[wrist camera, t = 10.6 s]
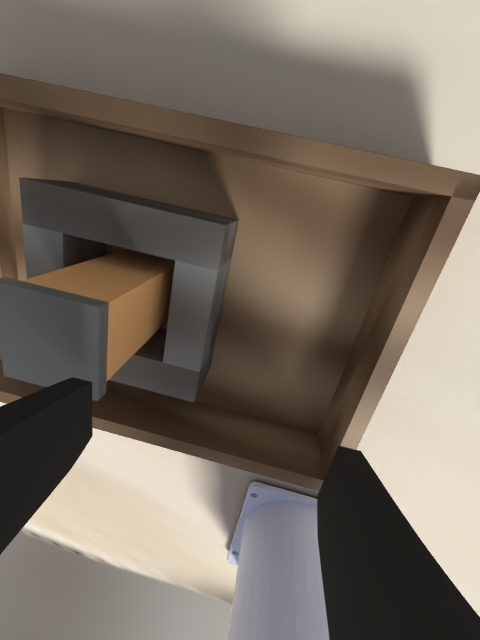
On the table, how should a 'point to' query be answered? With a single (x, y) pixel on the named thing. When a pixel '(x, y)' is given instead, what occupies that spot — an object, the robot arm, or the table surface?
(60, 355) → the plug
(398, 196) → the brown wooden box
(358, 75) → the table surface
